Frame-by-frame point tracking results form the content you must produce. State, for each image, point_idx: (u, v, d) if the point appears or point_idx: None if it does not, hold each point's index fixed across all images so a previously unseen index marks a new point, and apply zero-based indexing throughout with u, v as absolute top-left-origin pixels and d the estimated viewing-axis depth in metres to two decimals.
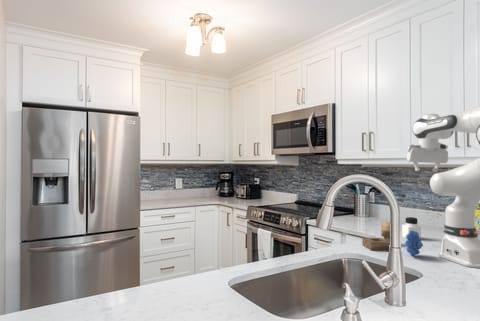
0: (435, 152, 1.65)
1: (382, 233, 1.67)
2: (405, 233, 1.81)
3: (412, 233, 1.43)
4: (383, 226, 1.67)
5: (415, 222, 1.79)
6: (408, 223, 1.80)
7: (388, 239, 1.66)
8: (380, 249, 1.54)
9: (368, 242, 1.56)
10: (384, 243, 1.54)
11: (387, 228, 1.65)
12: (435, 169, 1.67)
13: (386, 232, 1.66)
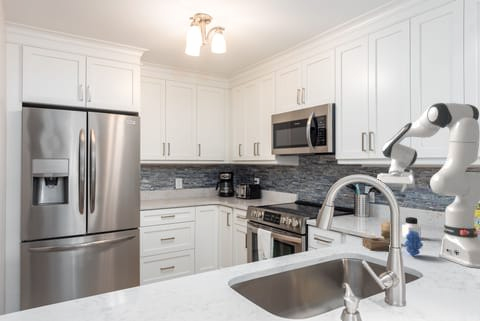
0: (401, 176, 1.81)
1: (382, 233, 1.67)
2: (405, 233, 1.81)
3: (412, 233, 1.43)
4: (383, 226, 1.67)
5: (415, 222, 1.79)
6: (408, 223, 1.80)
7: (388, 239, 1.66)
8: (380, 249, 1.54)
9: (368, 242, 1.56)
10: (384, 243, 1.54)
11: (387, 228, 1.65)
12: (401, 189, 1.76)
13: (386, 232, 1.66)
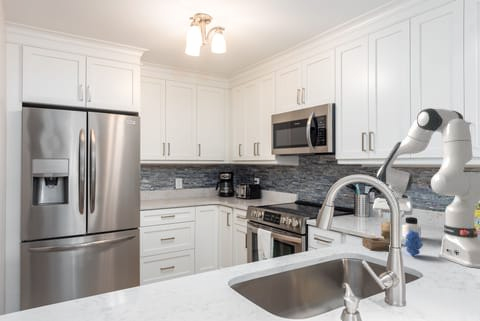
0: (398, 202, 1.76)
1: (382, 233, 1.67)
2: (405, 233, 1.81)
3: (412, 233, 1.43)
4: (383, 226, 1.67)
5: (415, 222, 1.79)
6: (408, 223, 1.80)
7: (388, 239, 1.66)
8: (380, 249, 1.54)
9: (368, 242, 1.56)
10: (384, 243, 1.54)
11: (387, 228, 1.65)
12: None
13: (386, 232, 1.66)
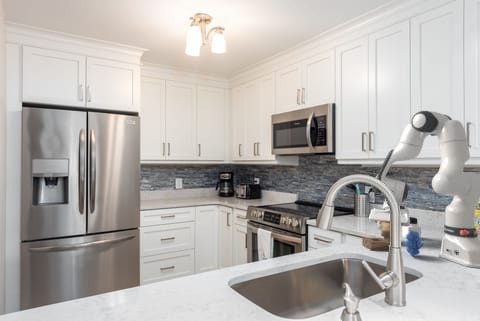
0: None
1: (382, 233, 1.67)
2: (405, 233, 1.81)
3: (412, 233, 1.43)
4: (383, 226, 1.67)
5: (415, 222, 1.79)
6: None
7: (388, 239, 1.66)
8: (380, 249, 1.54)
9: (368, 242, 1.56)
10: (384, 243, 1.54)
11: (387, 228, 1.65)
12: None
13: (386, 232, 1.66)
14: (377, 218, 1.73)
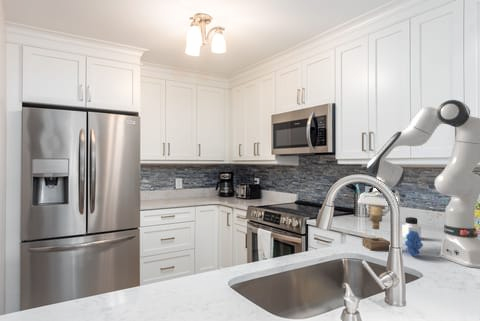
0: None
1: (371, 217, 1.59)
2: (405, 233, 1.81)
3: (412, 233, 1.43)
4: (372, 211, 1.58)
5: (415, 222, 1.79)
6: (408, 223, 1.80)
7: (377, 224, 1.58)
8: (380, 249, 1.54)
9: (368, 242, 1.56)
10: (384, 243, 1.54)
11: (376, 212, 1.57)
12: (382, 212, 1.57)
13: (375, 216, 1.57)
14: (366, 202, 1.64)
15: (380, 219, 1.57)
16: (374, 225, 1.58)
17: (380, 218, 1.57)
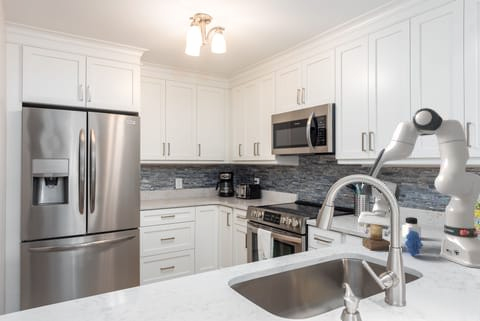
0: (385, 216, 1.61)
1: (371, 237, 1.58)
2: (405, 233, 1.81)
3: (412, 233, 1.43)
4: (372, 230, 1.58)
5: (415, 222, 1.79)
6: (408, 223, 1.80)
7: None
8: (380, 249, 1.54)
9: (368, 242, 1.56)
10: (384, 243, 1.54)
11: (376, 231, 1.56)
12: (385, 232, 1.56)
13: (375, 235, 1.56)
14: (366, 222, 1.64)
15: (380, 238, 1.56)
16: None
17: (380, 237, 1.56)
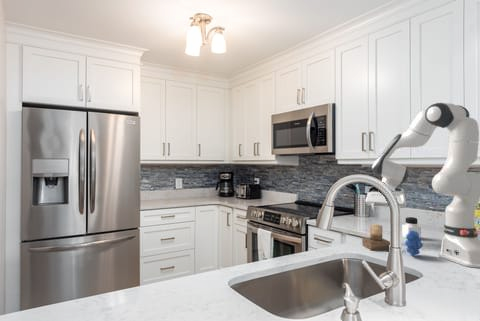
0: None
1: (371, 237, 1.58)
2: (405, 233, 1.81)
3: (412, 233, 1.43)
4: (372, 230, 1.58)
5: (415, 222, 1.79)
6: (408, 223, 1.80)
7: None
8: (380, 249, 1.54)
9: (368, 242, 1.56)
10: (384, 243, 1.54)
11: (376, 231, 1.56)
12: None
13: (375, 235, 1.56)
14: (373, 200, 1.74)
15: (380, 238, 1.56)
16: None
17: (380, 237, 1.56)
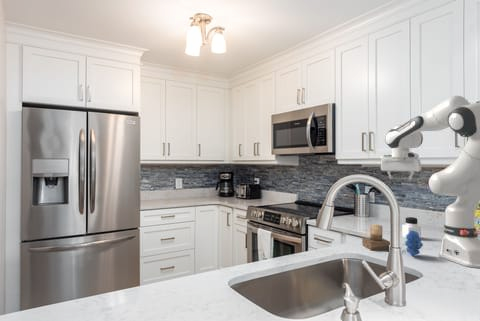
0: (405, 161, 1.73)
1: (371, 237, 1.58)
2: (405, 233, 1.81)
3: (412, 233, 1.43)
4: (372, 230, 1.58)
5: (415, 222, 1.79)
6: (408, 223, 1.80)
7: None
8: (380, 249, 1.54)
9: (368, 242, 1.56)
10: (384, 243, 1.54)
11: (376, 231, 1.56)
12: (408, 177, 1.72)
13: (375, 235, 1.56)
14: (389, 169, 1.78)
15: (380, 238, 1.56)
16: None
17: (380, 237, 1.56)
